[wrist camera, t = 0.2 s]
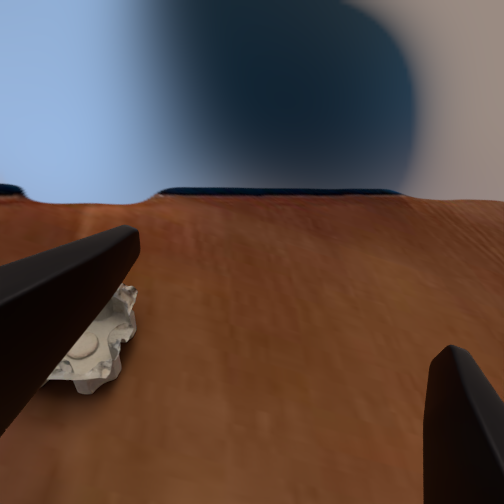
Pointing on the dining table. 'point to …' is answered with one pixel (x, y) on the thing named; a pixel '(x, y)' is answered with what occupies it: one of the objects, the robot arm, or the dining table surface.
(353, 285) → the dining table surface
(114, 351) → the grey castle model
